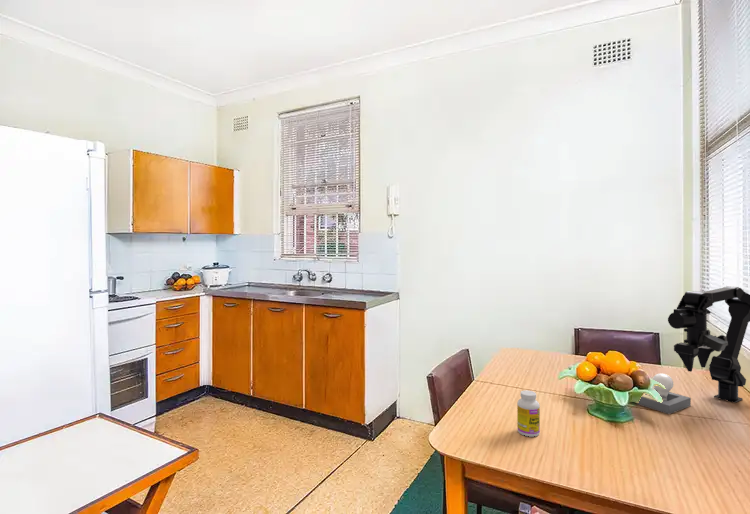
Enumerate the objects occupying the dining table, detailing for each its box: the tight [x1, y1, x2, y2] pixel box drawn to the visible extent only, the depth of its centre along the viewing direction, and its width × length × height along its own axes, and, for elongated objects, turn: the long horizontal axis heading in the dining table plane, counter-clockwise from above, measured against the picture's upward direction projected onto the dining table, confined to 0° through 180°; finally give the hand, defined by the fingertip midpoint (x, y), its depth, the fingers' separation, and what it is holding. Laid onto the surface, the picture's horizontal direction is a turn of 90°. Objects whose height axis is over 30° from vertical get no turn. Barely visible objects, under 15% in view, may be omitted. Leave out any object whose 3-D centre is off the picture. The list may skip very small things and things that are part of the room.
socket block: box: [637, 387, 692, 415], centre depth 151 cm, size 14×13×3 cm
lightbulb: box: [651, 372, 674, 401], centre depth 151 cm, size 6×6×11 cm
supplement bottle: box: [516, 389, 541, 438], centre depth 131 cm, size 7×7×13 cm
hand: (696, 369), depth 149 cm, fingers open, 9 cm apart
